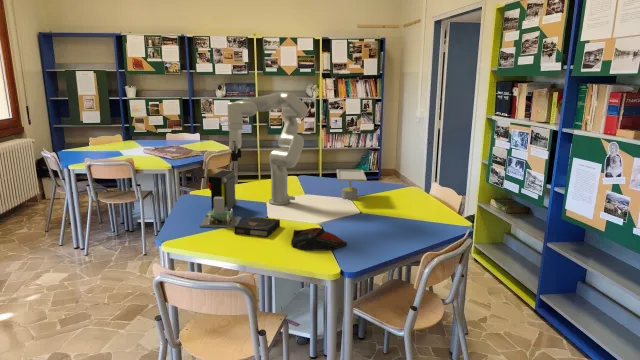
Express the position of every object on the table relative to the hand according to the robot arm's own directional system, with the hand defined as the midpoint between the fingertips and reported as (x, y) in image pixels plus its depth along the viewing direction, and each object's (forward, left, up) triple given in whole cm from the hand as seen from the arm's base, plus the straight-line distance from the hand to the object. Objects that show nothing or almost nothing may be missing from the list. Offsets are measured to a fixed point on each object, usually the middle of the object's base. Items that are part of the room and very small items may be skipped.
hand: (236, 159), depth 227 cm
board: (+7, +14, -26) cm, 31 cm away
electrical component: (+10, -11, -31) cm, 34 cm away
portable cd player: (-14, +24, -31) cm, 42 cm away
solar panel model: (-63, -38, -31) cm, 80 cm away
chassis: (+6, +14, -30) cm, 34 cm away
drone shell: (-43, +42, -31) cm, 68 cm away
